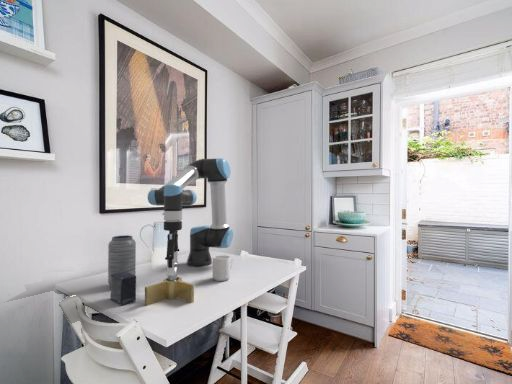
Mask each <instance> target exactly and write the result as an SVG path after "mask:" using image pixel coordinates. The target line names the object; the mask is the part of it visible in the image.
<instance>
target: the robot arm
mask: <svg viewBox="0 0 512 384" xmlns="http://www.w3.org/2000/svg"><path fill="white" fill-rule="evenodd" d="M230 177H231V167H230V164H229V161H228V160H227V159H225V158H219V157H218V158H201V159H197V160H195V161H193V162H191V163H189V164H187V165H186V166H185V167H184V168H183V170H182V171H181V172H180V173H179V174H177V175H176V176H174V177H173V178H172V179H171V180H169V181H168V182H167V183H166V184H164V185H162V186H161V187H160V188H159V189H151V190H150V191H148V193H147V201H148V204H150V206H151V205H152V206H157V207H158V206H163V212H162V214H161V215H162V216H163V221H164V222H163V231H168V232H169V233H168V234H167V242H166V243H167V245H166V257H164V260H165V261H166V277H168V276H170V275H174V262H179V261H178V259H179V258H178V255H179V253H178V252H180V248H179V241H178V239H179V238H178V237H179V233H178V231H181V230H182V229H183V221H182V220H183V207H190V206H193V205H194V204H196V202H197V199H198V198H197V197H198V196H197V194H196V192H195V191H194V190H192V189H185V188H186V187H187V186H189V184H191V183H192V182H195V181H197V180H199V179H207V183H209V185H210V187H209V188H210V203H211V222H212V223H211V225H210V226H209V225H198V226H194V227H191V228H190V231H189V254H188V257H187V259H186V265H187V266H190V267H205V266H209V265H212V264H213V258H212V256H211V252H210V248H217V249H227V248H229V247H230V246H231V245H232V242H233V237H234V231H233V229H232V228H230V225H229V224H228V222H227V204H226V183H227V182H228V179H229V178H230Z"/></svg>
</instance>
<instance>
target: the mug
mask: <svg viewBox="0 0 512 384" xmlns="http://www.w3.org/2000/svg"><path fill="white" fill-rule="evenodd" d="M233 259H234V258H233V257H230V255H222V254H221V255H219V254H218V255H214V256H213V257H212V279H213V280H214V281H215V282H225V281H228V280H229V279H230V278H231V271H232V269H233V264H234V263H233Z"/></svg>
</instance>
